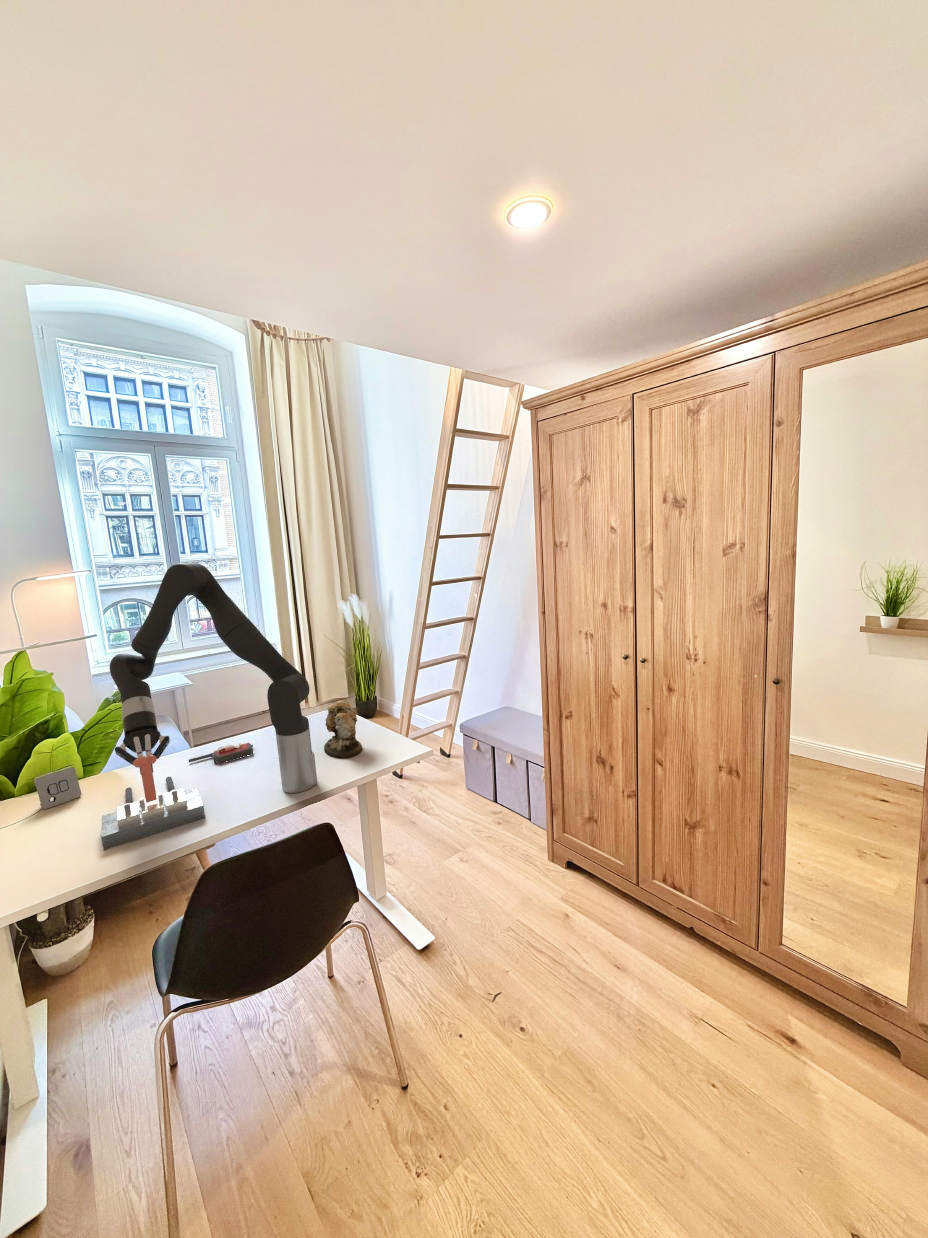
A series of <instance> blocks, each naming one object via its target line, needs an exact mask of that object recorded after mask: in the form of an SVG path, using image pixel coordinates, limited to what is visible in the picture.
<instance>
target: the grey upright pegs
mask: <svg viewBox="0 0 928 1238" xmlns="http://www.w3.org/2000/svg"><path fill="white" fill-rule="evenodd" d="M165 782H166V786H167V790H168V792H171V790H175V785H174V781H173V777H172V776H167V777H166V778H165ZM129 802H130V803H133V802H134V800H133V789H132V787H126V788H125V804H126V803H129Z"/></svg>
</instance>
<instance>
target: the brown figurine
mask: <svg viewBox="0 0 928 1238" xmlns="http://www.w3.org/2000/svg"><path fill="white" fill-rule="evenodd" d="M357 722H358V718H357V712H356V710H355V709H354V708H352V706H351V704H350V703H349V702H348V701H347V700H338V701H336V702H335V703H332V704H329V705H328V706H327V715H326V717H325V727H326V730H327V731H328V733H334V735H332V736H331V738H329V739H328V740H327V741H326V742H325V743H324V746H323V750H324V753H325V754H327V756H330V757H333V758H335V759H349V758H353V757H356V756H358V755H360V754H361V752H362V751H363V746H362V743H361V742H360V741H358V740H357V738H356V734H357V731H356V724H357Z"/></svg>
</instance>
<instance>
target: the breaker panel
mask: <svg viewBox="0 0 928 1238" xmlns="http://www.w3.org/2000/svg"><path fill="white" fill-rule="evenodd" d="M156 797H157V800H155V801H151V802H148V803H146V799H145V796H142V797H139V799H138V800H137V801H133V803H130V802H129V803H126V802H125V803H124V804H123V805H120V806H116V811H113V812H111V813H107V814H104V815H101V831H100V832H101V834H100V839H101V844H102V849H103V851H106V850H109V849H112V848H116V847H119V846H122V845H126V844H128V843H132V842H135V841H137V840H140V839H144V838H146V837H150V836H152V835H153V836H154V835H157V834H159V833H162V832H166V831H169V830H172V829H175V828H178V827H180V826H184V825H187V824H190V823H193V822H196V821H199V820H202V819H206V814H205V807H204V803H203V800H202V798H201V794H200V793H199V789H198V788H193V789H191V790H187V791H184V788H179V789H175V790H171V792H169V791H168V792H166V793H163V792H162V791H160V792H156Z"/></svg>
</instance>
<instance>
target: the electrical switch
mask: <svg viewBox="0 0 928 1238" xmlns="http://www.w3.org/2000/svg"><path fill="white" fill-rule="evenodd" d="M76 772H77V771H76V768H75V767H74V766H68V767H65V768H63V769H59V770H56V771H52V772H49V773H45V774H43V775H39V776H37V777H34V779H33V782H34V785H35V787H36V792H37V795H38V798H39V799H38V800H39V802H40V809H41V810H48V809H50V808H52V807H53V808H54V807H55V806H58V805H60V804H63V803H66V802H70V801H72V800H74V799H78V798H80V797H81V796H82V790H81V787H80V782H79V779H78V776H77V773H76ZM51 799H53V800H52V801H51Z"/></svg>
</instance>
